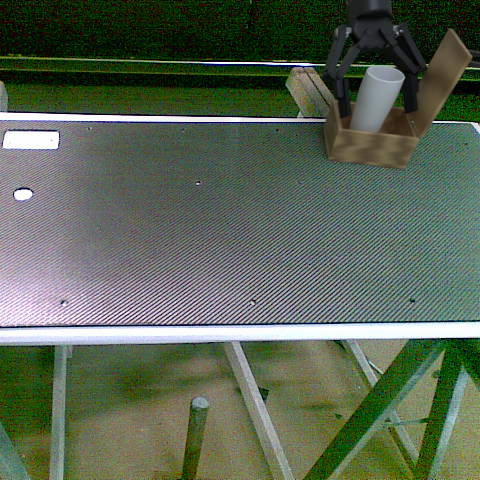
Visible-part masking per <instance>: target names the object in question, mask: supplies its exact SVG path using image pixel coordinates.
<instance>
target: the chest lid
mask: <svg viewBox="0 0 480 480" xmlns="http://www.w3.org/2000/svg"><path fill="white" fill-rule="evenodd" d="M473 57H475V58H480V51H478V50H473V49H467V47H466V45H465V44H464V43H463V41H462V40H461V38H460V37H459V36H458V34H457V33H456V32H455V30H454V29H453V28H448V30H447V31H446V33H445V35H444V37H443V38H442V41H441V42H440V44H439V46H438V48H437V49H436V51H435V53H434V54H433V56H432V58H431V60H430V62H429V64H428V65H427V70H426V71H424V72H423V74H422V75H421V76H422V77H421V78H420V80H419V81H418V83H419V84H418V85H419V92H418V93H417V103H418V110H417V111H414V112H411V113H409V115H410V117H411V120H412V122H413V124H414V127H415V129H416V132H417V134H418V136H419V138H421V139H423V138H424V137H425V135H426V134H427V132H428V131H429V129H430V127H431V126H432V124H433V122H434V121H435V119H436V117H437V116H438V114H439V113H440V111H441V110H442V108H443V106H444V105H445V103H446V101H447V100H448V98H449V97H450V95H451V93H452V92H453V90H454V88H455V87H456V85H457V84H458V82H459V80H460V79H461V77H462V75H463V74H464V72H465V70H466V69H467V67H472V68H476V69H480V62H479V61H474V60H473Z"/></svg>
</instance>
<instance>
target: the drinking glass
mask: <svg viewBox="0 0 480 480" xmlns="http://www.w3.org/2000/svg"><path fill="white" fill-rule="evenodd" d="M404 79H405V76H404V74H403V73H402V72H400V71H399V70H398V69H397V68H396V67H391V66H388V65H382V64H379V65H377V64H376V65H371V66H368V67H367V68H366V71H365V73H364V75H363V77H362V80H361V83H360V86H359V88H358V92H357V95H356V100H355V102H356V103H355V107H354V111H353V114H352V118H351V122H350V126H349V129H351V130H359V131H368V132H376V133H379V131H380V129H381V127H382V125H383V123H384V121H385V119H386V118H387V116H388V114H389V112H390V110H391V108H392V106H394V104H395V103H396V100H397V98H398V97H399V94H400V92H401V90H402V84H403V81H404Z"/></svg>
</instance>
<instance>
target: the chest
mask: <svg viewBox="0 0 480 480" xmlns="http://www.w3.org/2000/svg"><path fill="white" fill-rule="evenodd" d="M350 103H351V113H352V114H353V111H354V107H355V103H356V101H350ZM351 118H352V115H350V116H348V117H345V118H342V119H340V116H339V106H338V100H335V99H332V100H331V103H330V106H329V110H328V111H327V115H326V119H325V121H324V124H323V128H322V130H323V136H324V137H323V138H324V142H325V149H326V156H327V161H330V162H331V161H332V162H340V163H347V164H358V165H365V166H373V167H380V168H388V169H389V168H390V169H396V170H406V169H407V166H408V164H409V162H410V160H411V158H412V156H413V154H414V153H415V151H416V148H417V146H418V144H419V143H420V141H421V139H420V137H419V135H418V133H417V131H416V128H415V126H414V123H413V121H412V119H411V116H410V114H405V111H404V107H402V106H394V105H393V106H392V108H391V110H390V112H389V114H388V116H387V118H386V119H385V121H384V123H383V125H382V127H381V129H380V131H379V133H376V132H368V131H359V130H351V129H349V126H350V122H351Z"/></svg>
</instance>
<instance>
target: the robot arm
mask: <svg viewBox="0 0 480 480" xmlns="http://www.w3.org/2000/svg"><path fill="white" fill-rule="evenodd" d="M391 1H392V0H345V4H346V7H345V10H346V19H347V20H346V21H347V25H346V24H344V23H341V24H340V25H339V26H338V27H337V28H335V29H334V30H333V32H332V33H333V34H332V44H331V47H330V50H329V52H328V56H327V59H326V61H325V64H324V67H323V71H322V73H321V75H320V77H321V80H323V81H328V84H329V85H332V93H333V98H334V100H338V106H339V116H340V119H342V118H345V117H348V116H350V115H352V113H351V103H350V102H351V94H350V87H349V86H350V85H349V79H348V78H344V77H345V76H346V74H347V72H348V71H349V69H350V68H351V66H352V64H353V63H354V61H355V60H356V58H357V57H358V55H359V54H360V52H361V53H367V52H372V53H376V52H379V53H380V54H381V55H384V56H385V57H386V58H387V59H388V60H389V61H390V62H391V63H392V64H393V66H394V67H395V69H397V70H399V71H400V72H402V73H403V74H404V76H405V79H404V81H403V84H402V87H401V90H402V100H403V108H404V111H405V114H409V113H411V112H414V111H417V110H418V103H417V93H418V92H419V85H418V84H419V75H420V74H422V73H425V71H426V70H427V67H428V65H427V63H426V61H425V59H424V58H423V56H422V54H421V52H420V51H419V49H418V46H417V45H416V43H415V41H414V39H413V38H412V35H411V34H410V30H409V25H408V22H406V21H403V22H401V23H400V24H396V25H395V24H394V25H393V23H392V22H391V18H392V12H393V11H392V2H391ZM348 38H349V39H350V40H351V41H352V43H351V45H350V47H349V48H348V50H347V53H346V54H345V56H344V57H343V59H342V60H341V62H340V63H339V61H340V58H341V55H342V52H343V49H344V46H345V43H346V39H348ZM338 63H339V65H338ZM337 66H338V67H337ZM409 115H410V114H409Z"/></svg>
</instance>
